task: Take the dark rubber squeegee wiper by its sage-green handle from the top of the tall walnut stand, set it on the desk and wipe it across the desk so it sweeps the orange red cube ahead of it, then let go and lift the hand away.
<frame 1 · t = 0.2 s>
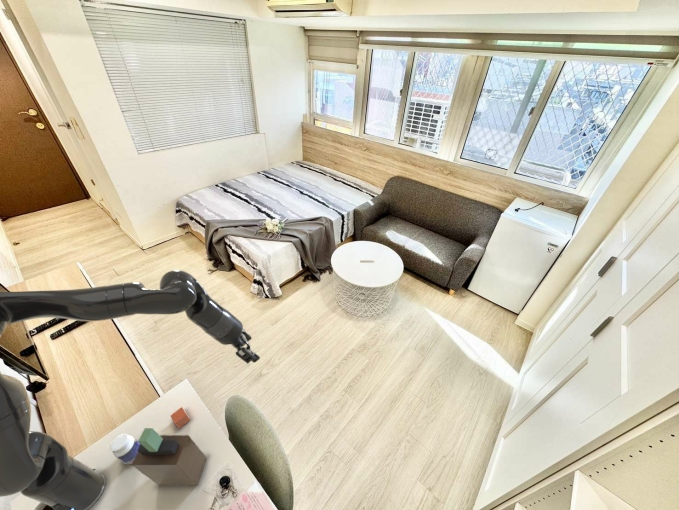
hand: (252, 349, 84), 31 cm above the table, tool tilted 20°, fingers open, 8 cm apart
wiper: (160, 449, 74), point 18 cm above the table, touching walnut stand
pill bottle: (134, 454, 88), on the table
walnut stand: (183, 471, 84), on the table
orange red cube: (182, 420, 96), on the table
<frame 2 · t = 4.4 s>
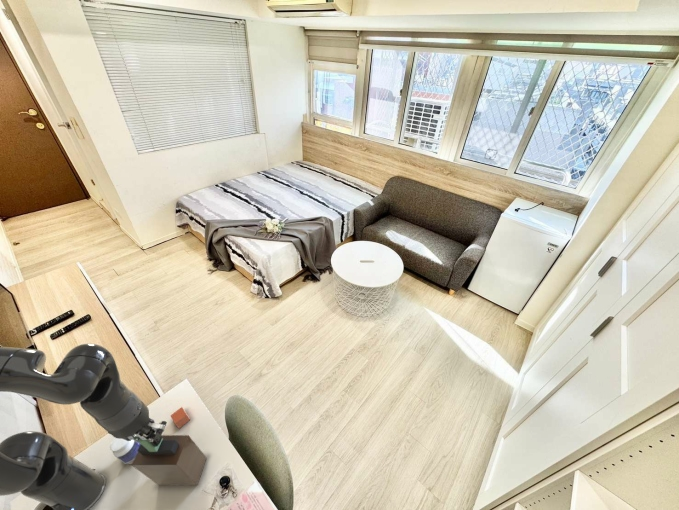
hand: (153, 442, 71), 23 cm above the table, tool pointing down, fingers closed on wiper, 2 cm apart
wiper: (160, 449, 74), point 18 cm above the table, touching gripper, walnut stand
everything else where it was.
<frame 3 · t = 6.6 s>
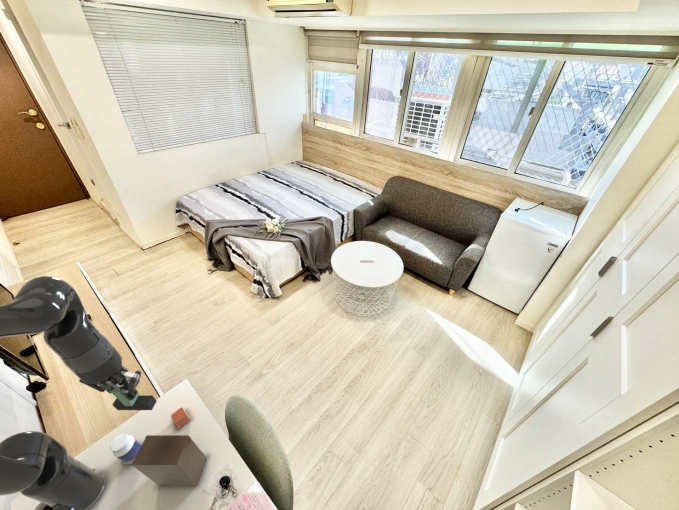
hand: (128, 396, 68), 36 cm above the table, tool pointing down, fingers closed on wiper
wiper: (137, 405, 71), point 31 cm above the table, touching gripper
everything else where it was.
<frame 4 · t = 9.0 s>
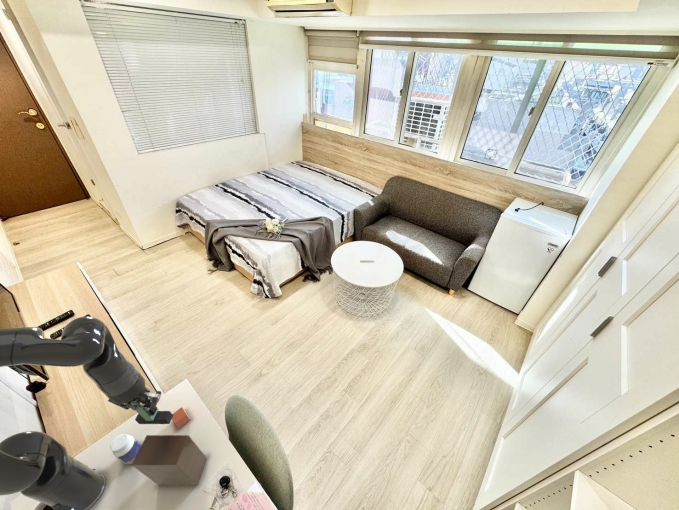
hand: (149, 412, 77), 22 cm above the table, tool pointing down, fingers closed on wiper, 2 cm apart
wiper: (156, 419, 80), point 17 cm above the table, touching gripper
everything else where it was.
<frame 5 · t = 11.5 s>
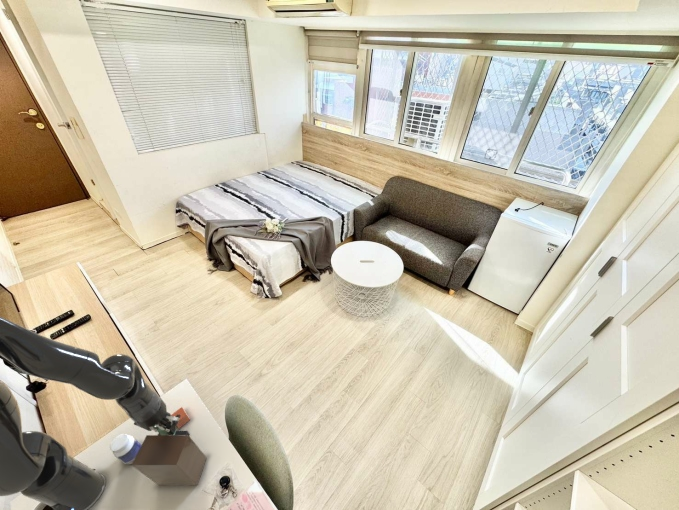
hand: (169, 432, 86), 8 cm above the table, tool pointing down, fingers closed on wiper, 2 cm apart
wiper: (174, 438, 89), point 3 cm above the table, touching gripper
everything else where it was.
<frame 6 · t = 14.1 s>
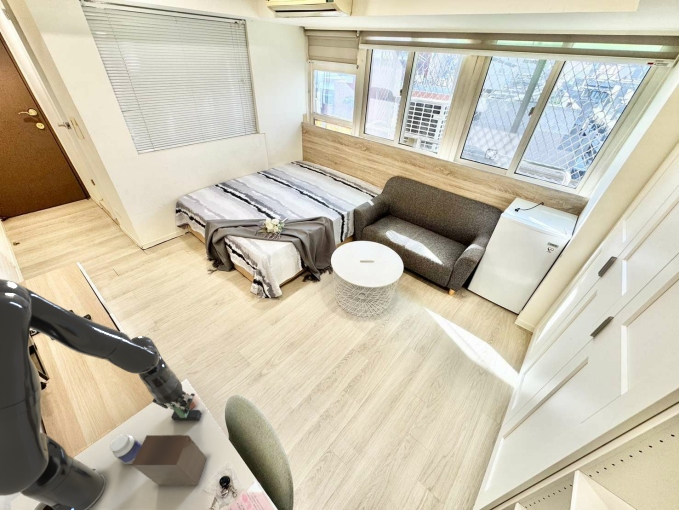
hand: (183, 410, 94), 5 cm above the table, tool pointing down, fingers closed
wiper: (188, 417, 97), on the table
orange red cube: (188, 405, 100), on the table
everything else where it was.
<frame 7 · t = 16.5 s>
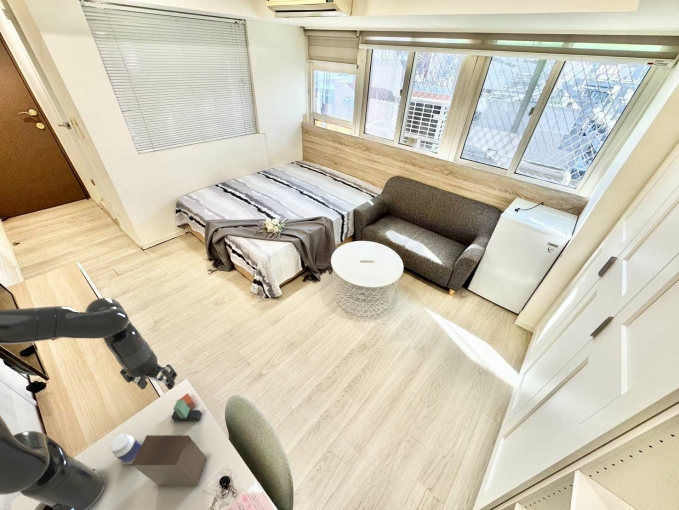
hand: (158, 386, 85), 21 cm above the table, tool pointing down, fingers open, 8 cm apart
wiper: (188, 417, 97), on the table
everything else where it was.
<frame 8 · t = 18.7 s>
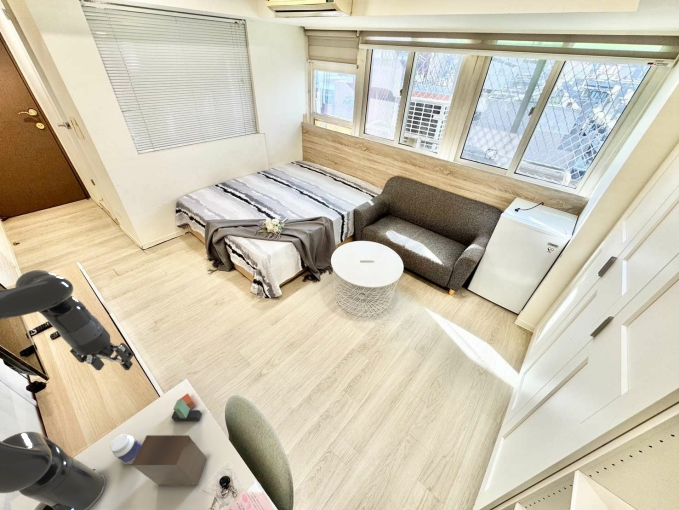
hand: (115, 367, 80), 30 cm above the table, tool pointing down, fingers open, 8 cm apart
nothing on the table moved.
at the end: wiper inside the target area (0.1 cm from its centre), on the table; wiper tilted 0°; orange red cube moved 4.9 cm from its start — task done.
